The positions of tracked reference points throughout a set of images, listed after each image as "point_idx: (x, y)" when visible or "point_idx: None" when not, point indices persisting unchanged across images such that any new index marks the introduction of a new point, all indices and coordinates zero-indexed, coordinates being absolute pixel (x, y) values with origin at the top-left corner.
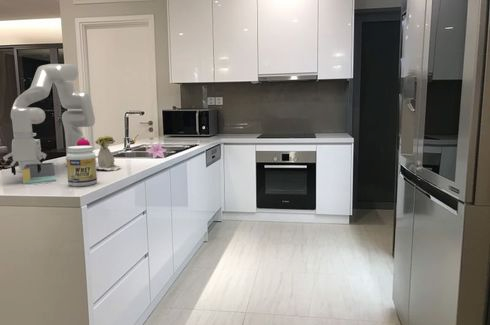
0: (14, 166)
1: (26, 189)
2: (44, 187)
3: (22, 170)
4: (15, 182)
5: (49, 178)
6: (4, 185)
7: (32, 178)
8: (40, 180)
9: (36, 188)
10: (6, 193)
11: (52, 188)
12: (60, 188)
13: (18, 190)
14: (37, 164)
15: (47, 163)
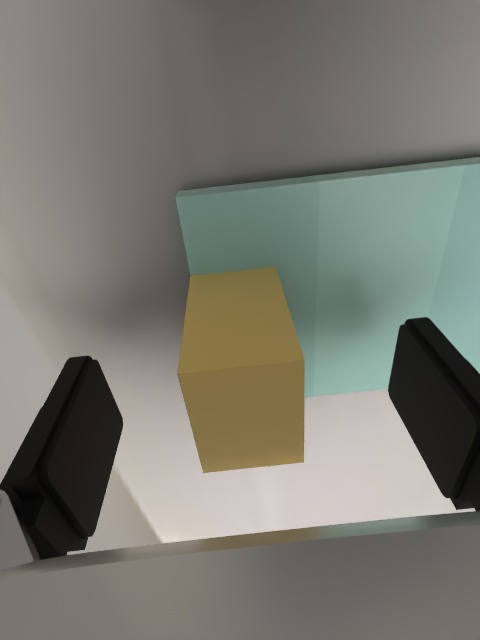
0: (83, 534)
1: (259, 484)
2: (367, 467)
3: (210, 467)
4: (78, 185)
5: (472, 320)
6: (25, 321)
7: (295, 248)
8: (370, 385)
9: (318, 477)
10: (164, 529)
11: (405, 495)
12: (444, 504)
13: (214, 493)
14: (467, 470)
15: None
